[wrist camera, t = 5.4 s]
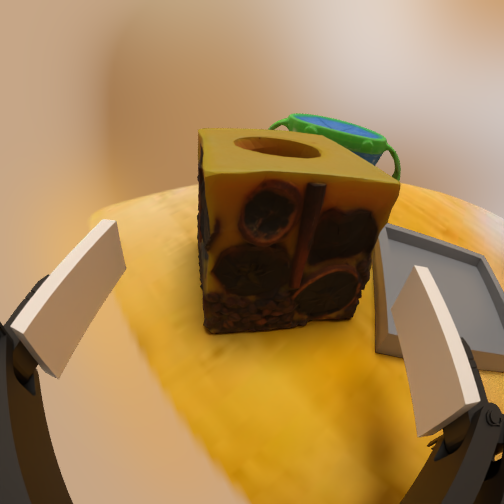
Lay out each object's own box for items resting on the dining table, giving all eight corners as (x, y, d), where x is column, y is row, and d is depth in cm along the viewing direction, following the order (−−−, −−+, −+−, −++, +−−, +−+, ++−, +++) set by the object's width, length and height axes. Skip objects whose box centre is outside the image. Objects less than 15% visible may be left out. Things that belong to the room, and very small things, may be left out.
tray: (476, 269, 24) (483, 255, 23) (515, 372, 13) (529, 358, 11) (369, 235, 27) (375, 219, 26) (375, 352, 16) (388, 333, 14)
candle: (354, 320, 18) (409, 186, 12) (204, 339, 16) (200, 174, 10) (306, 238, 26) (327, 134, 20) (196, 242, 24) (197, 125, 18)
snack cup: (381, 209, 34) (401, 137, 28) (386, 251, 25) (419, 155, 19) (270, 179, 37) (279, 107, 31) (241, 210, 29) (249, 113, 23)
